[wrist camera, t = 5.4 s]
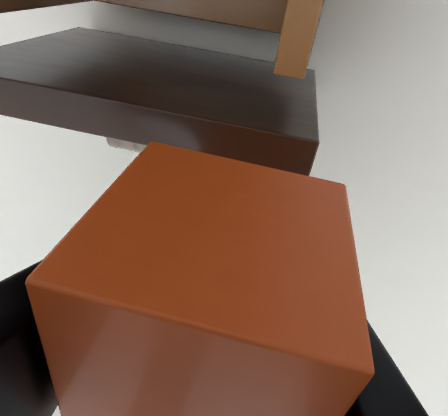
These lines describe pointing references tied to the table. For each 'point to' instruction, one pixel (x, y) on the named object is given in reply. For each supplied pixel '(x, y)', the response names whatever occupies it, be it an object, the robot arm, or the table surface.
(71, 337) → the block
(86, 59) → the drawer
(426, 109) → the table surface
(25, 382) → the robot arm
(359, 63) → the table surface
